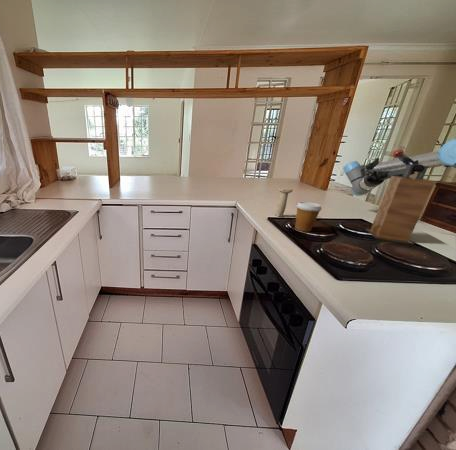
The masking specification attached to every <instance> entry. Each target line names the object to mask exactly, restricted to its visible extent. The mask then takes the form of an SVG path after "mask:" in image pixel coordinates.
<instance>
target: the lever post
mask: <svg viewBox="0 0 456 450" xmlns="http://www.w3.org/2000/svg"><path fill="white" fill-rule="evenodd" d="M413 166H414V165H407V166H406V169H405V171H404V174H403V176H402V177H398V176H391V178H389V181H388V183H387V186H386V189H385V191H384V193H383V197H382V199H381V202H380V204H379V206H378V209H377V212H376V214H375V217H374V219H373V222H372V225H371V227H370V228H365V231H366V232H367V233H368V234H369V235H371V236H372V237H373V238H374V239H376V240H381V241H388V242H394V243H401V244H407V245H413V246H414V245H415V242H413V241H412V240H410V239H411V236H412V235H413V232H414V230H415V228H416V226H417V223H418V221H419V219H420V217H421V214H422V212H423V210H424V208H425V206H426V203H427V201H428V198H429V196H430V194H431V192H432V190H433V188H434V185H435V183H436V180H432V179H427V178H425V175H426V173H427V171H428V169H429V168H428V166H423V169H422V171H421V172H417V175H416V176H415V177H412V176H411V175H410V173H411V171H412V168H413ZM410 176H411V177H410Z"/></svg>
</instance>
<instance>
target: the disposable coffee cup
mask: <svg viewBox="0 0 456 450" xmlns="http://www.w3.org/2000/svg"><path fill="white" fill-rule="evenodd" d="M321 210H322V204H318V203H315V202H309V201H298V203H297V204H296V216H295V225H294V229H295V230H297V231H301V232H307V233H308V232H311V231H312V228H313V226H314V225H315V222H316V220H317V218H318V216H319V213H320V211H321Z"/></svg>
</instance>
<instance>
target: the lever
mask: <svg viewBox="0 0 456 450" xmlns="http://www.w3.org/2000/svg"><path fill="white" fill-rule="evenodd" d="M391 155H392V157H393V158H395V159H400V160H401V161H402V162H403V163H404V164H406V165H414V166H413V168H412V172H415V173H418V172H421V171H422V169H423V165H421V164H417V163H416V162H414V161H413V160H412V159H410V158H409V157H410V156H408V155H407V154H405V151H404V150H403V149H395V150H394V151H393V152H392V154H391Z"/></svg>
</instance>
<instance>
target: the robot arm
mask: <svg viewBox="0 0 456 450" xmlns="http://www.w3.org/2000/svg"><path fill="white" fill-rule="evenodd" d="M408 157H409V158H410V159H412V160H413V161H414V162H416V163H417V164H421V165H423V166H428V168H427V169H432V168H438V167H444V168H455V169H456V138H453V139H450V140H449V141H447V142H445V143H444V144H443V145H442V146H441V147H440V148H439V150H437V151H432V152H431V151H430V152H426V153H421V154H417V155H412V156H408ZM406 166H407V165H406V164H404V163H403V162H402V161H401V160H400V159H398V158H395V159H392V160H387V161H382V162H380V158H379V157H377V158H376V159H374V160H373V161H372V162H369V163H368V164H366V165H365V164H360V162H359V161H358V160H353V161H350V162H348V163H347V164H344V166H343V167H342V170H343V172H344V174H345V175H346V178H347V179H348V181H349V183H350V184H351V189H350V191H351V194H353V195H354V196H356V197H362V196H364V195H366V194H369V192H371V191H372V190H374V189H375V188H376V187H378V186H380V185H382V184H383V183H384V181H385V180H388V179H390V178H391V176H398V177H402V176H403V174H404V171H405V169H406ZM415 174H416V172H412V171H411V173H410V176H412V175H415Z"/></svg>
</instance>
